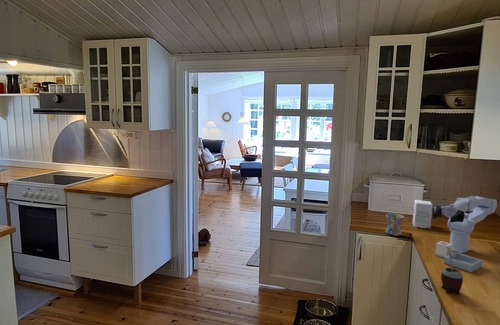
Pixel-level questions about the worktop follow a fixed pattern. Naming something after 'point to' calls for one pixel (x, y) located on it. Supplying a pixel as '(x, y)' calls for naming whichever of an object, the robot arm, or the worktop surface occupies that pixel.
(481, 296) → the worktop surface
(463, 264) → the big crate
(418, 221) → the supplement box
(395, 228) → the mug
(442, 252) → the box
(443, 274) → the mate gourd
